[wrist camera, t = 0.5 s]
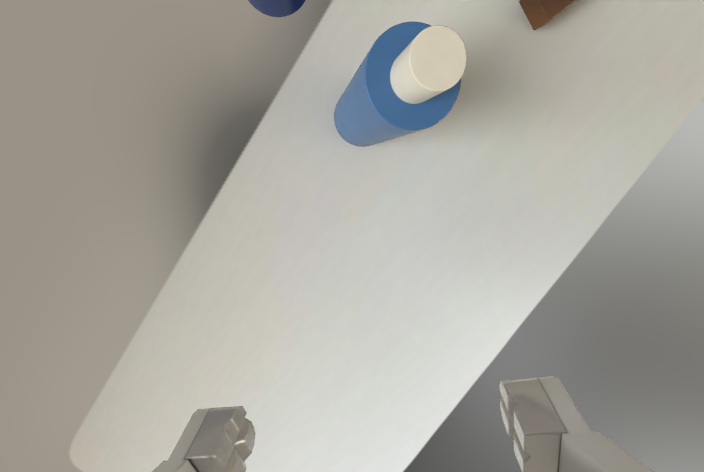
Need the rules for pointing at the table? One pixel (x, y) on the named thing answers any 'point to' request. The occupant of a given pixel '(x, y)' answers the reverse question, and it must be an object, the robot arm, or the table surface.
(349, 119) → the blue bottle
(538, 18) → the walnut bar
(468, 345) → the table surface
